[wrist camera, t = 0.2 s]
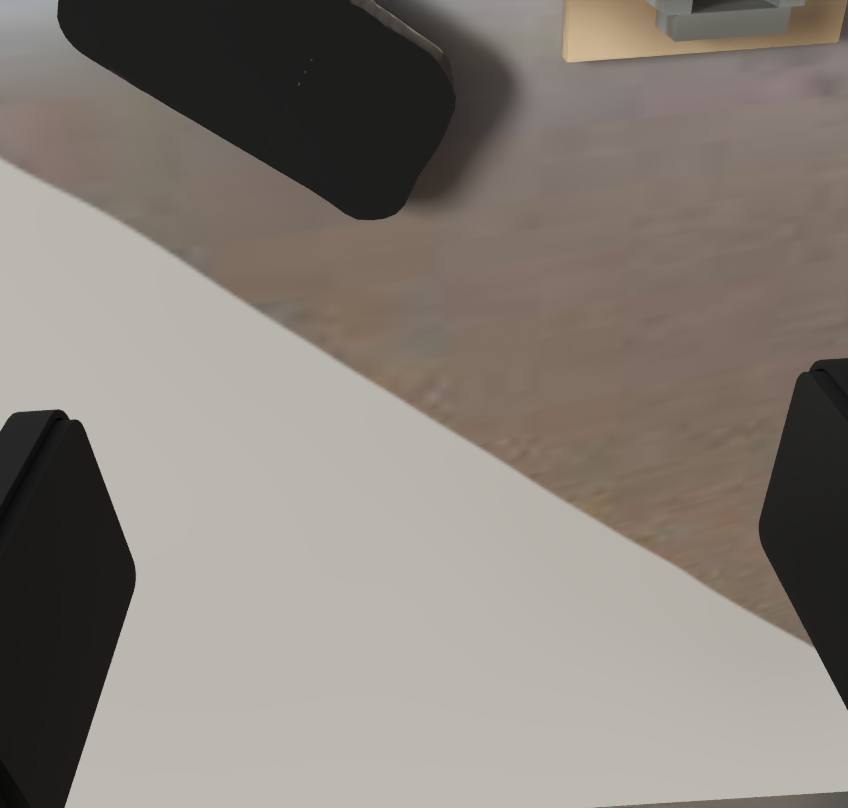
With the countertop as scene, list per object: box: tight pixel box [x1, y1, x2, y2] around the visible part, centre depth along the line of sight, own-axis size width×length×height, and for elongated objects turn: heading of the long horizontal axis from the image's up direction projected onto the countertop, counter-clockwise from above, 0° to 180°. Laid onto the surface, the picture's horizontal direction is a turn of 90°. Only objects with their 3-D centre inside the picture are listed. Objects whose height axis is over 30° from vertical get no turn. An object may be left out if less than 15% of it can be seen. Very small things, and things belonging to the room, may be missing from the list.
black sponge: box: [57, 0, 455, 220], centre depth 35 cm, size 16×8×4 cm, turn 56°
